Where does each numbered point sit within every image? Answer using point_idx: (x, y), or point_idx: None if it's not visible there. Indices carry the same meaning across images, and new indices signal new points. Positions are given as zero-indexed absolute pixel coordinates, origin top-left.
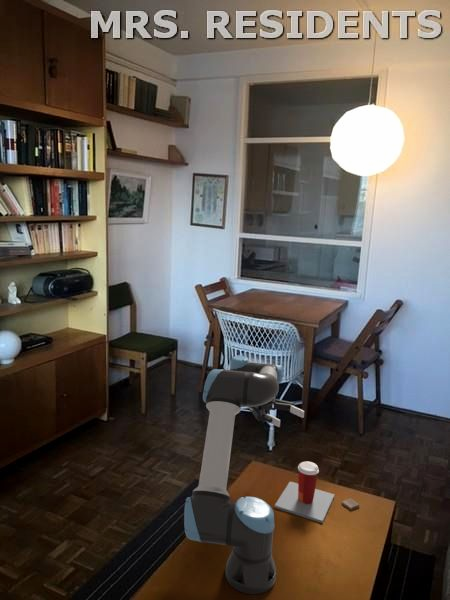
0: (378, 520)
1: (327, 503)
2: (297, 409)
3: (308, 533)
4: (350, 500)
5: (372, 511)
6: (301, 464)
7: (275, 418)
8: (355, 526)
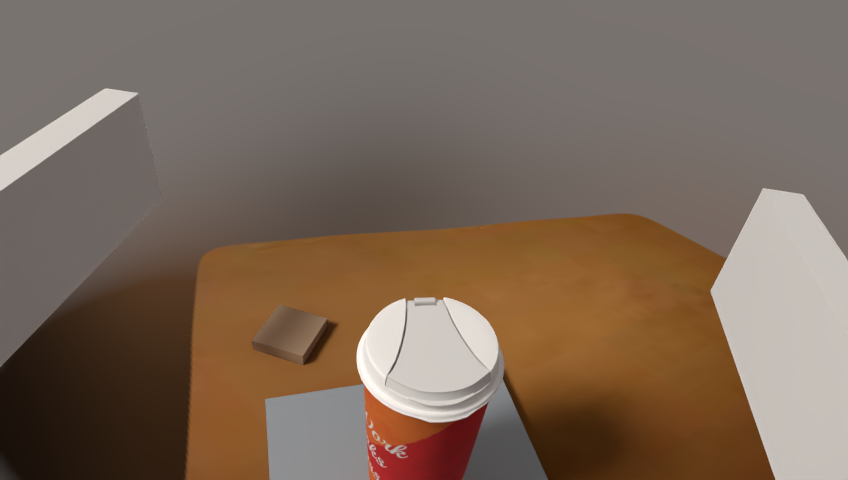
0: (323, 253)
1: (363, 395)
2: (54, 167)
3: (594, 386)
4: (272, 334)
5: (280, 275)
6: (453, 381)
7: (836, 250)
8: (413, 289)
